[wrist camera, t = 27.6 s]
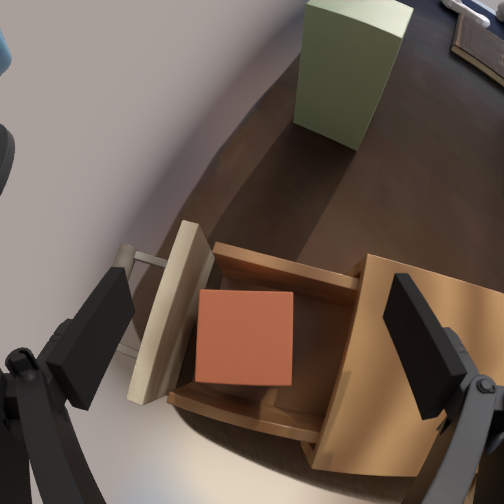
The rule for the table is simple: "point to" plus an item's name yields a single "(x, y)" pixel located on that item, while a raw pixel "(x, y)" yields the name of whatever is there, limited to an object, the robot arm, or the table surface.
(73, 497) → the robot arm
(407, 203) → the table surface
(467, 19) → the hardcover book
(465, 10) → the game controller
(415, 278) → the cabinet
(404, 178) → the table surface
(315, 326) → the drawer
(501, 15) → the toy rhinoceros
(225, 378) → the block
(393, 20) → the stand
